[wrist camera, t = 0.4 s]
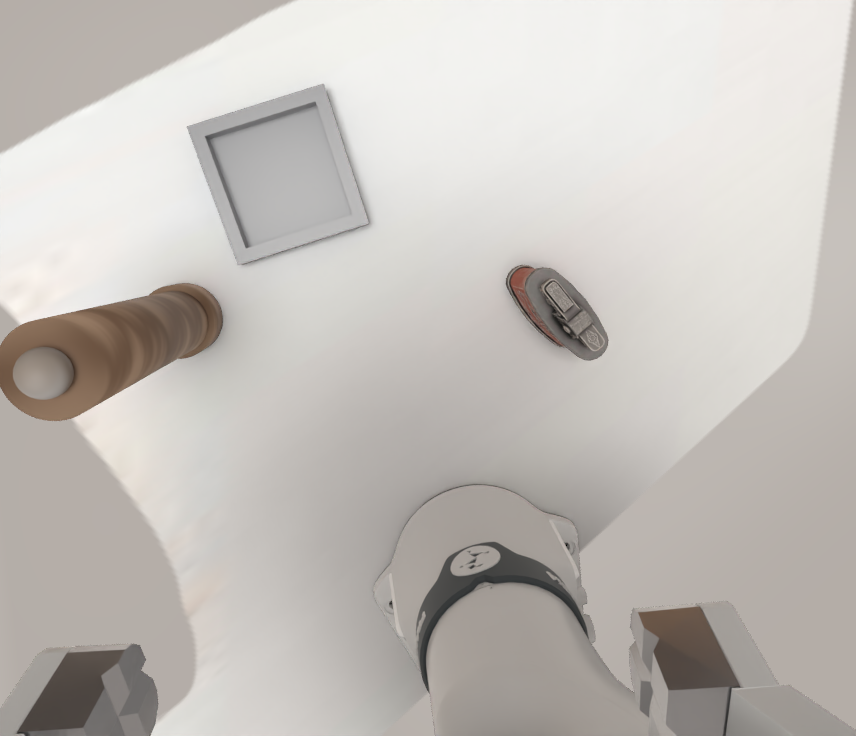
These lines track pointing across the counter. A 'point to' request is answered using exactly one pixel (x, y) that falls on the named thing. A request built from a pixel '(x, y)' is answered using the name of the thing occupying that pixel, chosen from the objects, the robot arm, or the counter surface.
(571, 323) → the lighter
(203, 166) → the tray
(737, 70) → the counter surface
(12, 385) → the pepper mill
